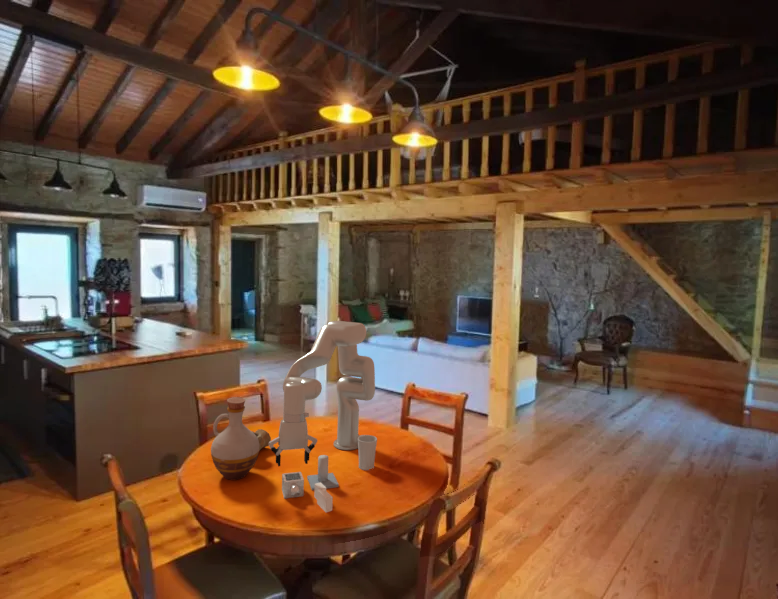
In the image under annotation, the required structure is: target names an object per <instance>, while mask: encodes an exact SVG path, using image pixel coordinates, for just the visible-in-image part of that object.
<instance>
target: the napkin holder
mask: <svg viewBox="0 0 778 599" xmlns="http://www.w3.org/2000/svg"><path fill="white" fill-rule="evenodd" d="M313 491H314V492H313V493H314V494H313V495H314V496H313V497H314V498H315V499H316V504H317V505H318V506H319V507H320V509H321V510H323V512H325V513H329V512H332V511H333V496H332V494H330V493H329V492H328V491H327V489H326V487H325V486H324V485H323V484H322V483H321V482H320V483H316V484H315V489H314V490H313Z"/></svg>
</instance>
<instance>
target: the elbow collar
mask: <svg viewBox="0 0 778 599" xmlns="http://www.w3.org/2000/svg"><path fill="white" fill-rule="evenodd" d="M304 484H305V479H304V476H303V473H302V472H301V471H296V472H285V473H282V474H281V491H282V492H281V493H282V495H283V499H290V498H298V497H304V495H305V493H304V492H305V491H304V490H305V489H304V486H305V485H304Z"/></svg>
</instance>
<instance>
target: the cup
mask: <svg viewBox="0 0 778 599" xmlns="http://www.w3.org/2000/svg"><path fill="white" fill-rule="evenodd" d="M361 435H362V436H359V437H358V448H357V449H358V450H357V451H358V453H357V454H358V468H359V469H360V470H362V471H370V470H369V469H372V468H373V469H374V468H375V459H376V452H377V451H376V449H377V445H378V444H377V443H378V438H377V437H376V436H375V435H370V434H361ZM373 469H372V470H373Z"/></svg>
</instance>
